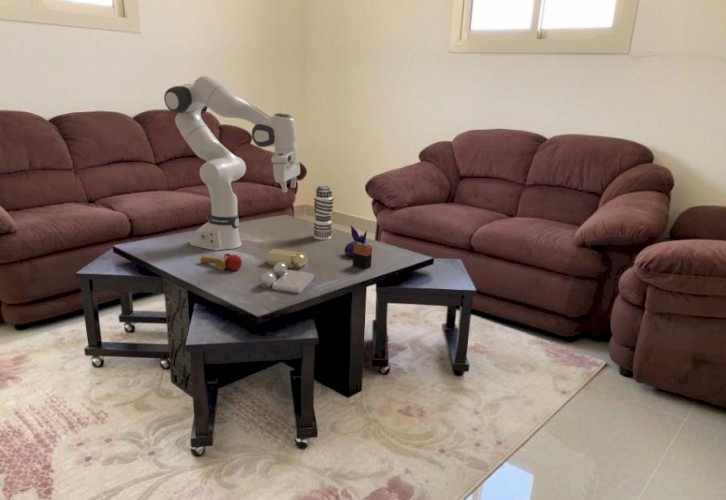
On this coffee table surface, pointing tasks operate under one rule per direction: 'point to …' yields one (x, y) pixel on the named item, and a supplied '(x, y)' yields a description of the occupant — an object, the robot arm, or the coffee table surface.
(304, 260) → the gold bar
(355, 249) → the battery
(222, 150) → the robot arm
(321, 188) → the black white tall cylinder
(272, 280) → the plate with metal balls
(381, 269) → the coffee table surface
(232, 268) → the kendama
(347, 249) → the creature
